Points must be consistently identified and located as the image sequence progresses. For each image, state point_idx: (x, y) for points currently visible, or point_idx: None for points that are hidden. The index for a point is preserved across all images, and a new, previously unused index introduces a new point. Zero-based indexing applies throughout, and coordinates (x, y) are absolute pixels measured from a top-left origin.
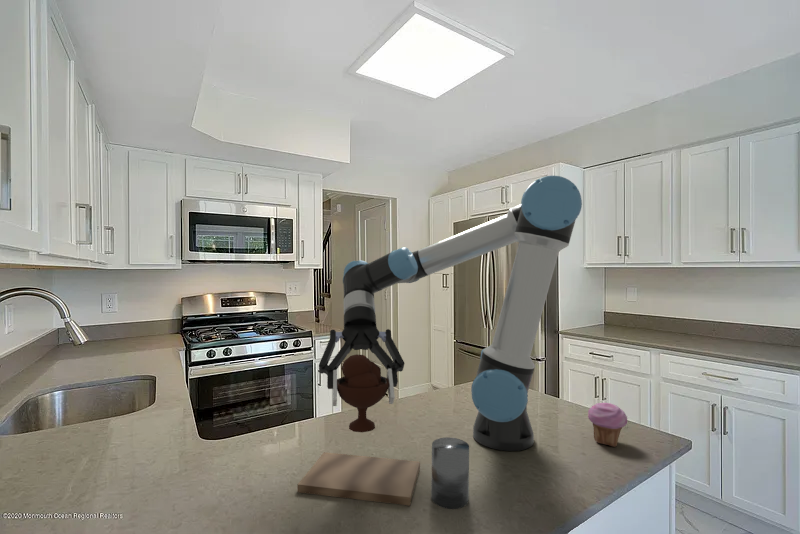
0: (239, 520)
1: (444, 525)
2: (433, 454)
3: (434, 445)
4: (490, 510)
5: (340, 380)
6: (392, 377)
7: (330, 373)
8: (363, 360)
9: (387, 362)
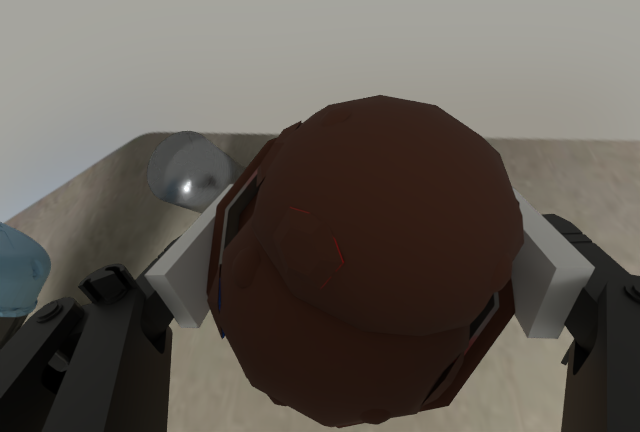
0: (576, 156)
1: (261, 137)
2: (221, 161)
3: (208, 164)
4: None
5: (485, 311)
6: (182, 236)
7: (599, 272)
8: (313, 120)
9: (129, 320)
